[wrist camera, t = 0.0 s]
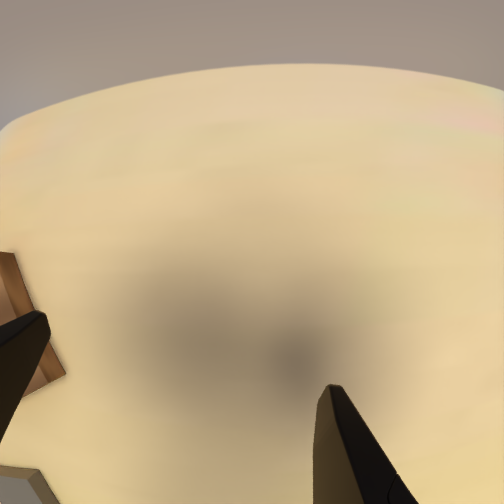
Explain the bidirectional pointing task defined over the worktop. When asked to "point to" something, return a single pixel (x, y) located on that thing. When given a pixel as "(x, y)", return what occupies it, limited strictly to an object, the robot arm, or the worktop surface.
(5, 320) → the walnut slab
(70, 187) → the worktop surface
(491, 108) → the worktop surface
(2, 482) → the charcoal tile
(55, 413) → the worktop surface
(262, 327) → the worktop surface
